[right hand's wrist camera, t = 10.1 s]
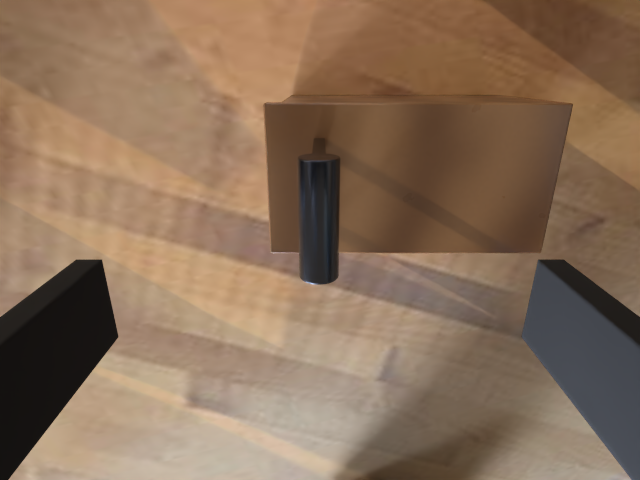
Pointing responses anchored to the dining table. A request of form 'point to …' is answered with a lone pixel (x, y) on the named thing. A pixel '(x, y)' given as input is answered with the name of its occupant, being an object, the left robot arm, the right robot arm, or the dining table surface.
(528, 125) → the door
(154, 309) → the dining table surface
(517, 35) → the dining table surface
